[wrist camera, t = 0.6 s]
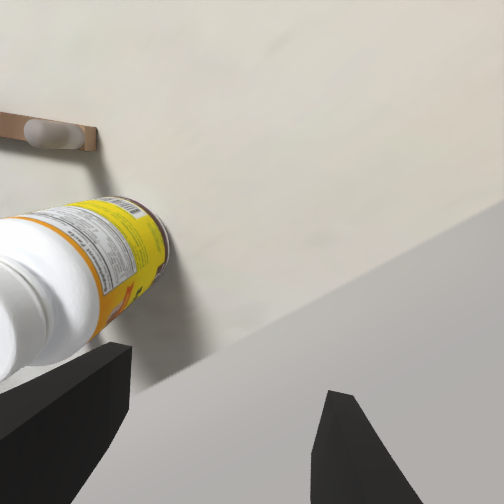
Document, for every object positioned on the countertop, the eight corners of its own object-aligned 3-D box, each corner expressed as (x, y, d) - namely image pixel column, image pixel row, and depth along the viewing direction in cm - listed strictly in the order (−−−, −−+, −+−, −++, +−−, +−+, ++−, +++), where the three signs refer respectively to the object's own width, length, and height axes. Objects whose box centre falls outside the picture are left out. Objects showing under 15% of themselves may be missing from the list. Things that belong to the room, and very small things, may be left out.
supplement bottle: (108, 298, 20) (-66, 428, 11) (66, 212, 19) (-173, 271, 10) (189, 272, 19) (76, 392, 10) (149, 179, 18) (-26, 208, 8)
